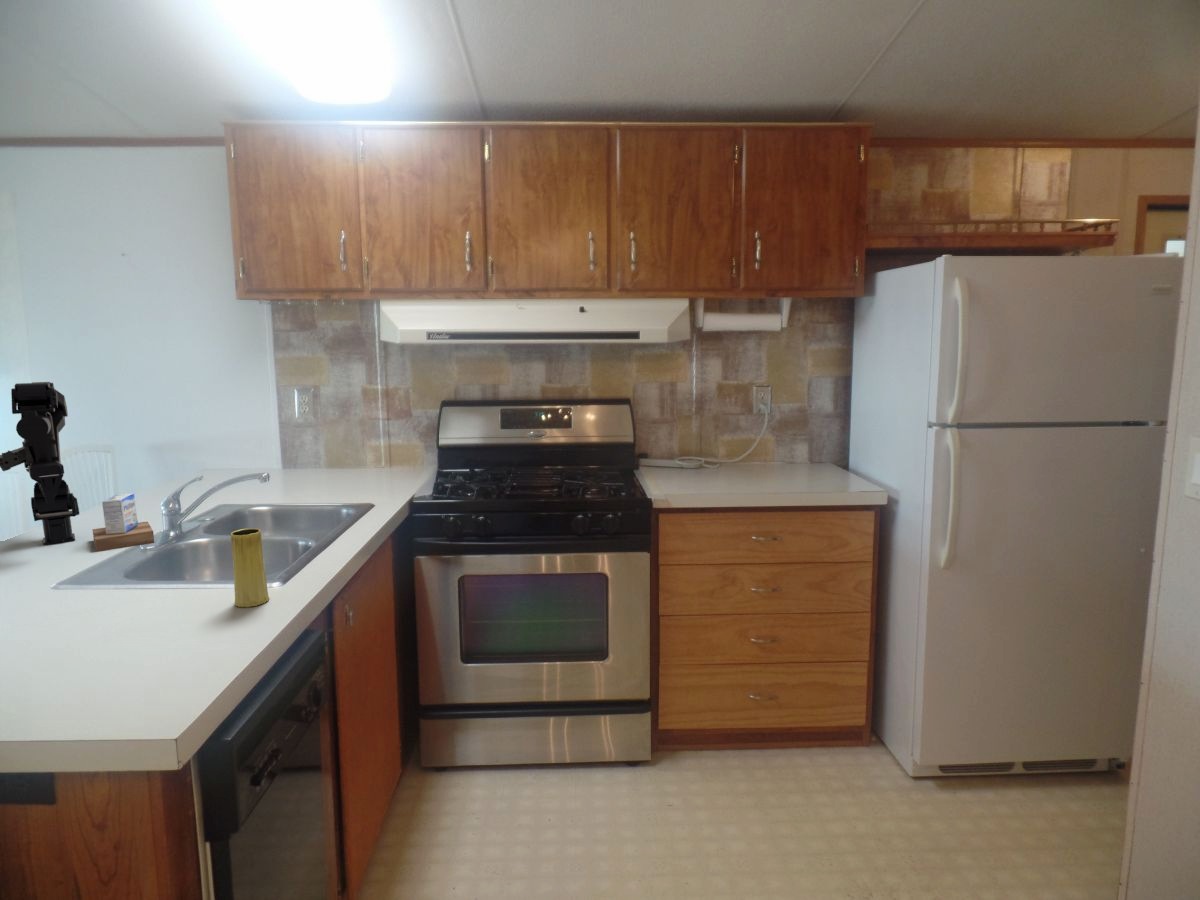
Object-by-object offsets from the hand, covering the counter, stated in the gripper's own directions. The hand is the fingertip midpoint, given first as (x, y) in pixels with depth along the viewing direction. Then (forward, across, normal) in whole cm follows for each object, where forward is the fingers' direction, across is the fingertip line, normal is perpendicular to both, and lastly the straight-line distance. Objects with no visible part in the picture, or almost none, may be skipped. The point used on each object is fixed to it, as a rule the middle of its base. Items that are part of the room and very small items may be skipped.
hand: (48, 499), depth 169 cm
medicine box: (+10, +1, +14) cm, 17 cm away
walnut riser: (+13, +2, +14) cm, 19 cm away
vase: (+13, +69, +25) cm, 74 cm away
